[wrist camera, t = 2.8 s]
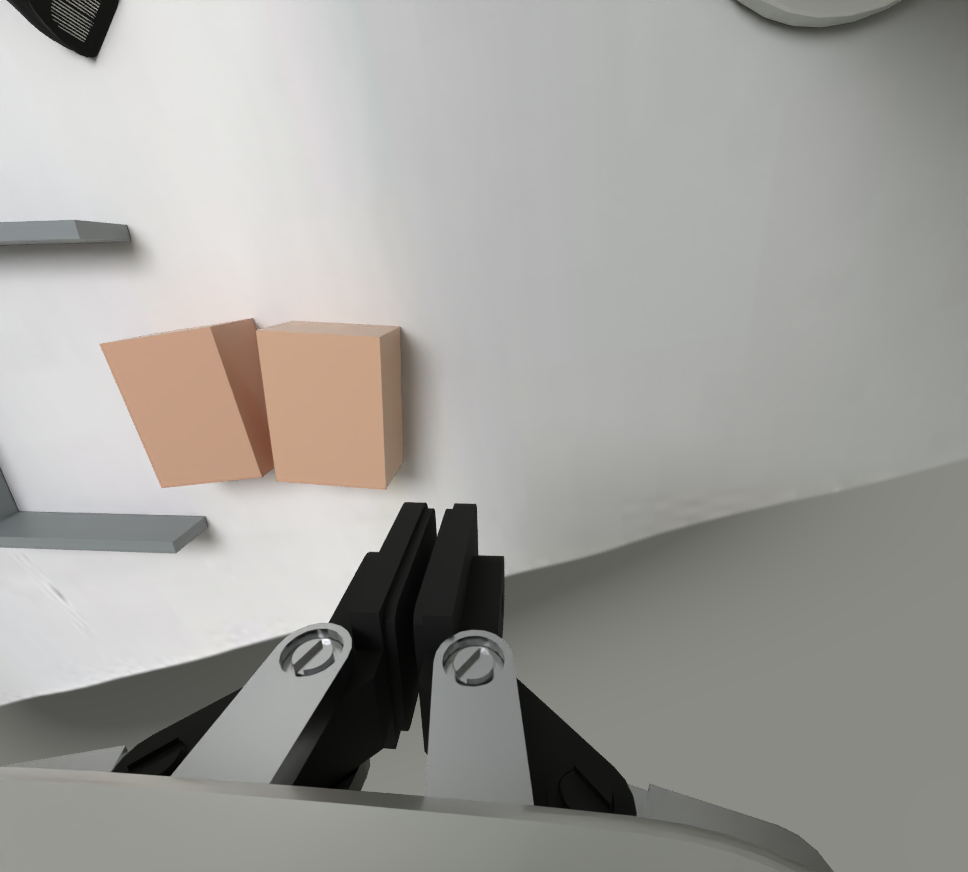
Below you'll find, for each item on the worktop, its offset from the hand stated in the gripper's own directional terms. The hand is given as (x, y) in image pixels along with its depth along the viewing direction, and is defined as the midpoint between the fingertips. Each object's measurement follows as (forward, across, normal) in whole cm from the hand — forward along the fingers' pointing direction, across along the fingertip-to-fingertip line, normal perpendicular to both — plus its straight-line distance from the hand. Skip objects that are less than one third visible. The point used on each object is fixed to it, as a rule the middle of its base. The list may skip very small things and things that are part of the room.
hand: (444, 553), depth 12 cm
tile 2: (+15, +8, 0) cm, 17 cm away
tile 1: (+15, +16, 0) cm, 22 cm away
